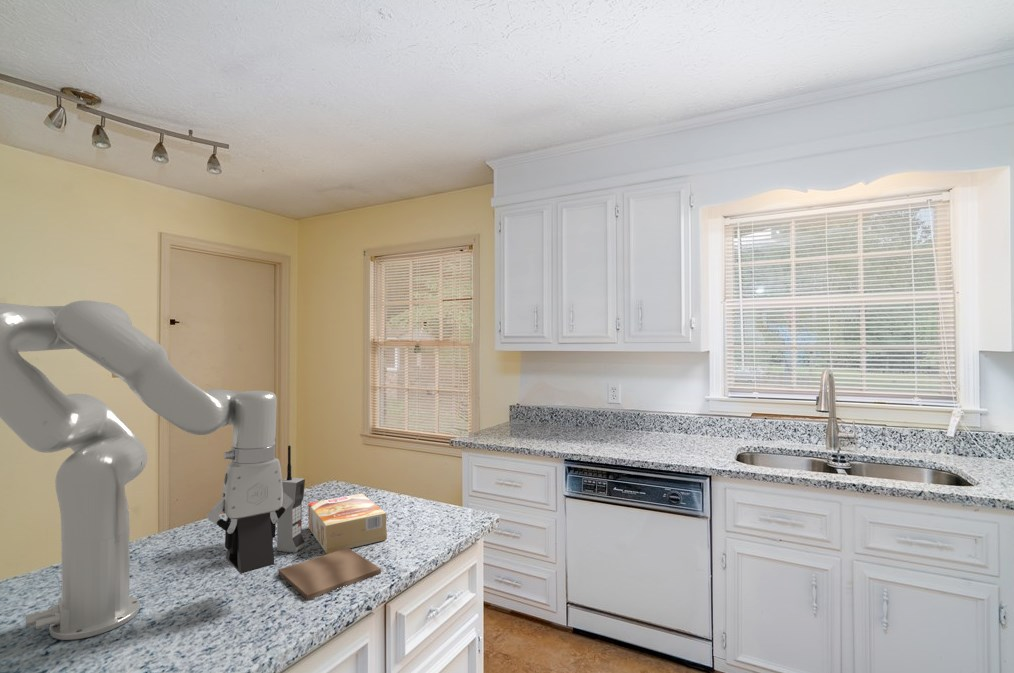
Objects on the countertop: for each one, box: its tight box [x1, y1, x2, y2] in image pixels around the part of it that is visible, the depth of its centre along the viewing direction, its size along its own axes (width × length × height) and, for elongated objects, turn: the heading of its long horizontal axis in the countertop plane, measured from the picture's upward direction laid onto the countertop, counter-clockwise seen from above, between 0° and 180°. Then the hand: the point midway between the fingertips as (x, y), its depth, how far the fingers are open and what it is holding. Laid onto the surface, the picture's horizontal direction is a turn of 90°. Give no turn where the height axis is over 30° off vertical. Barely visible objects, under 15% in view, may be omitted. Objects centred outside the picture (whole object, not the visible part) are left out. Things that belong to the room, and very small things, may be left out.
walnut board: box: [278, 548, 382, 601], centre depth 108 cm, size 16×15×1 cm
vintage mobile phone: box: [276, 445, 306, 554], centre depth 121 cm, size 4×5×25 cm
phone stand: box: [225, 513, 275, 575], centre depth 98 cm, size 9×6×12 cm, turn 45°
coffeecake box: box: [307, 493, 388, 555], centre depth 130 cm, size 15×7×20 cm
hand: (250, 546), depth 98 cm, fingers closed on phone stand, 6 cm apart
